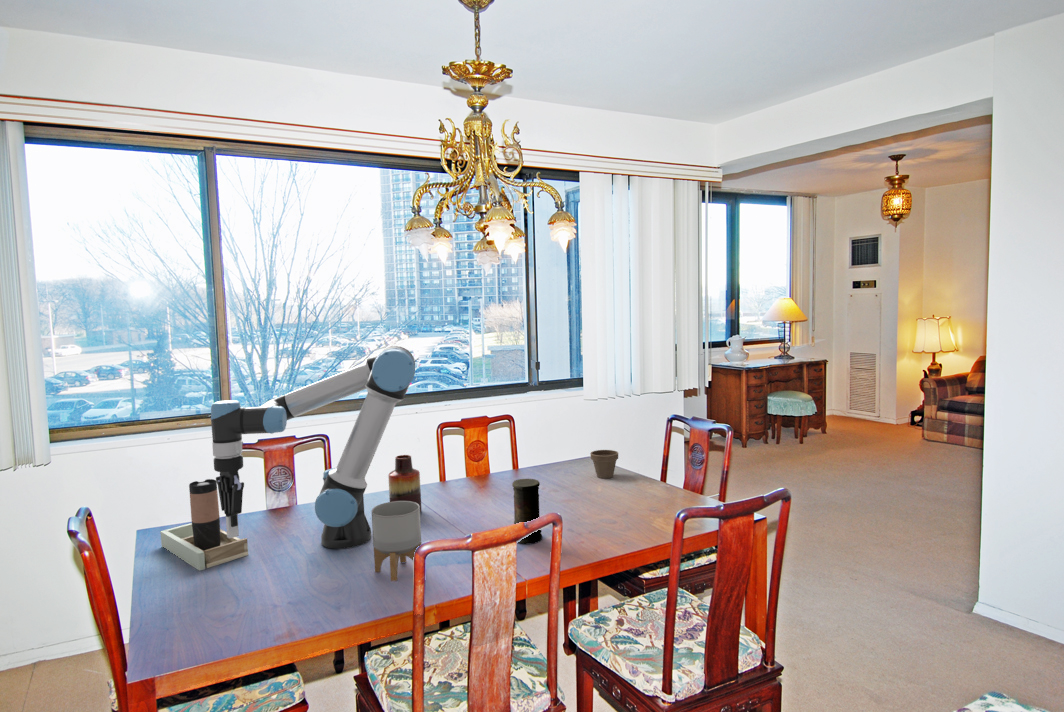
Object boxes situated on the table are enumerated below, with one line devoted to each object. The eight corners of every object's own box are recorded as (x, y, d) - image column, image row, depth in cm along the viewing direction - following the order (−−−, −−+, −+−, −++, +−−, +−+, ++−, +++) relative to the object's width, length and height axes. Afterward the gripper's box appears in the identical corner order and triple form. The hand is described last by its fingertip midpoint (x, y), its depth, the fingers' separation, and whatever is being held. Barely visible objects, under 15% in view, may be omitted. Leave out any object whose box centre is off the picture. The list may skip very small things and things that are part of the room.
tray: (248, 554, 194) (247, 538, 193) (206, 568, 185) (205, 551, 184) (219, 539, 207) (218, 524, 206) (179, 551, 198) (178, 535, 197)
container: (512, 534, 204) (510, 478, 202) (540, 532, 204) (538, 477, 203) (513, 545, 195) (511, 487, 193) (543, 543, 196) (541, 485, 194)
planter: (417, 580, 173) (414, 515, 171) (369, 581, 173) (365, 516, 171) (426, 560, 186) (423, 500, 184) (381, 561, 186) (378, 501, 184)
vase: (384, 517, 224) (381, 459, 222) (401, 507, 234) (398, 452, 232) (410, 520, 220) (407, 461, 218) (427, 510, 230) (424, 453, 228)
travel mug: (210, 551, 194) (205, 486, 192) (187, 550, 195) (182, 485, 193) (227, 542, 201) (222, 479, 199) (205, 541, 203) (200, 478, 201)
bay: (251, 553, 194) (250, 537, 194) (199, 570, 183) (198, 553, 183) (211, 532, 213) (209, 518, 213) (161, 546, 202) (160, 531, 202)
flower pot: (591, 472, 272) (591, 449, 271) (618, 472, 270) (618, 449, 269) (590, 480, 260) (589, 455, 259) (618, 480, 259) (618, 456, 258)
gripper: (252, 456, 181) (256, 538, 183) (231, 449, 190) (235, 527, 192) (224, 461, 175) (229, 546, 177) (204, 454, 184) (209, 535, 186)
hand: (232, 536), depth 185 cm, fingers closed
